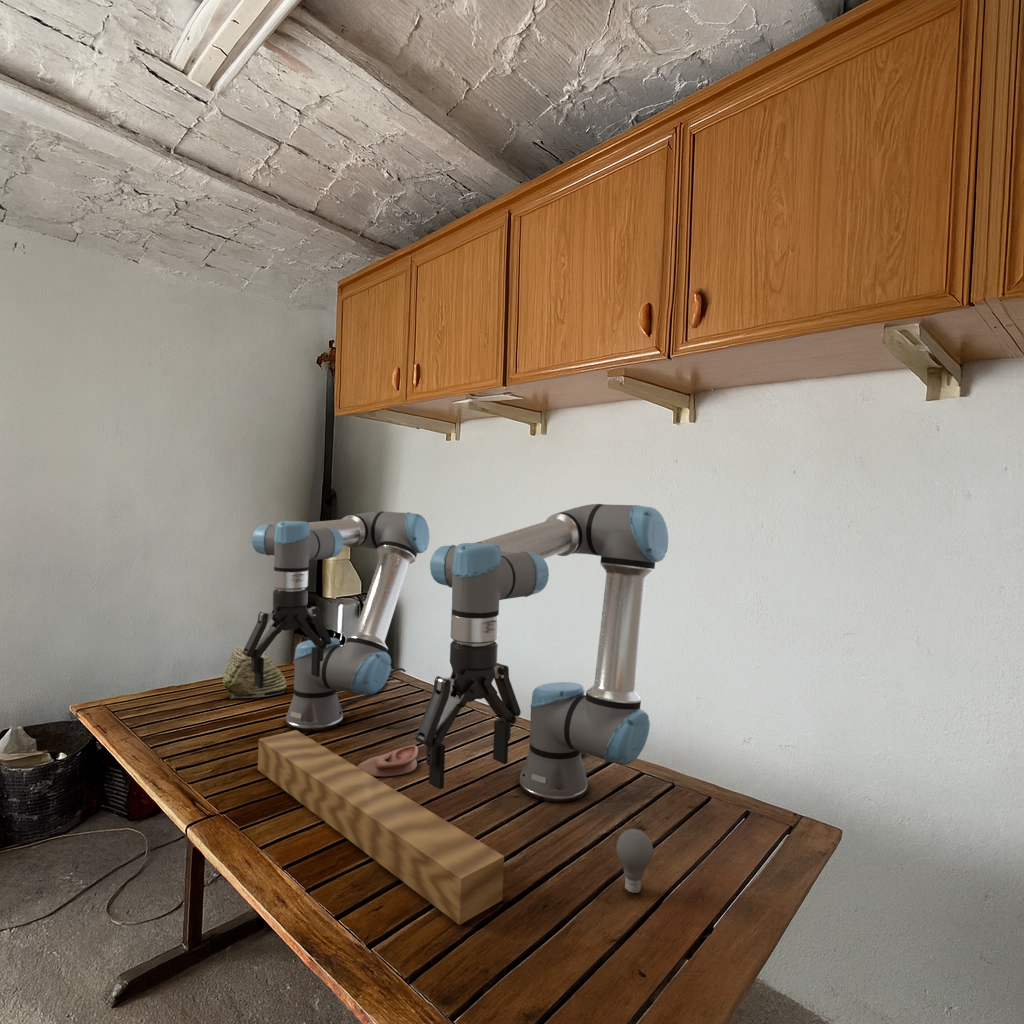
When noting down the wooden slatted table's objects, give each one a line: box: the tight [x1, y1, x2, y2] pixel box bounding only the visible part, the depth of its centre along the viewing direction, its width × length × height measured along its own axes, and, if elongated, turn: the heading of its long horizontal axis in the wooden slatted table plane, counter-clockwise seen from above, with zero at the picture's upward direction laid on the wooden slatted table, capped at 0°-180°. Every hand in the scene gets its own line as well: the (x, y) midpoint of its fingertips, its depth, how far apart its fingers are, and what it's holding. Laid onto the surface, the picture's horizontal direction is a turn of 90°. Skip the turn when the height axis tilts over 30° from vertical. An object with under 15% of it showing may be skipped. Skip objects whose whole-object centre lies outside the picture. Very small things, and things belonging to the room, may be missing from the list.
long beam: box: [257, 730, 505, 926], centre depth 123 cm, size 71×9×7 cm, turn 45°
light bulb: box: [615, 828, 654, 894], centre depth 106 cm, size 6×6×10 cm
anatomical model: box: [356, 744, 419, 777], centre depth 149 cm, size 13×4×12 cm
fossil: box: [222, 646, 288, 699], centre depth 198 cm, size 9×18×15 cm, turn 132°
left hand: (287, 681), depth 145 cm, fingers open, 13 cm apart
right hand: (469, 773), depth 101 cm, fingers open, 13 cm apart
